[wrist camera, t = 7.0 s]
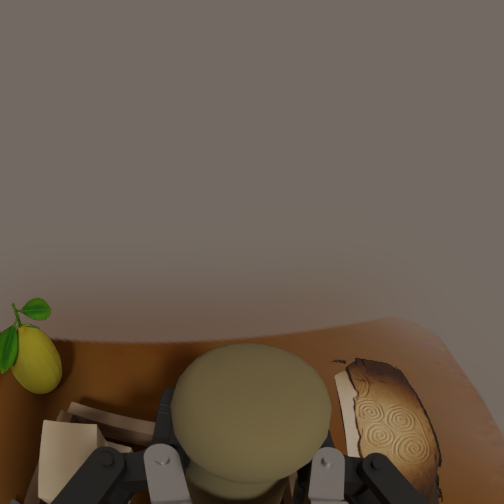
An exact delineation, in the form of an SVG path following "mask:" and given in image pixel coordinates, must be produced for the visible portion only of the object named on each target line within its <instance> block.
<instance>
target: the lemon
mask: <svg viewBox="0 0 504 504" xmlns="http://www.w3.org/2000/svg"><path fill="white" fill-rule="evenodd" d="M12 306H13V309H14V312H15V315H16V321H15V323H14V325H12V326H11V327H9V328H8V329H6V330H4V331H3V332H2V333H1V335H0V371H1V374H3V373H4V372H6V371H7V370H8V369H9V368H11V371H12V373H13V375H14V376H15V378H16V379H17V380H18V382H19V383H20V384H21V385H22V386H23V387H24V388H26V389H27V390H29V391H30V392H32V393H35V394H46V393H49V392H51V391H53V390H54V389H55V388H56V387H57V386H58V384H59V382H60V380H61V377H62V365H61V359H60V356H59V354H58V352H57V350H56V348H55V346H54V344H53V342H52V341H51V339H50V338H49V337H48V336H47V335H46V334H45V333H44V332H43V331H42V330H41V329H40V328H38V327H36V326H34V325H32V324H21V323H20V319H19V316H18V313H17V312H22V313H23V314H25V315H26V316H28V317H30V318H32V319H34V320H45V319H47V318H48V317H49V316H50V313H51V310H52V309H51V308H50V306H49V305H48V304H47V303H46V302H45V301H44V300H43V299H40V298H35V299H32V300H30V301H28V302H27V303H26V305H25V306H24V307H23V308H22V309H21V310H17V309H16V308H15V305H14V303H12ZM17 320H18V323H19V325H18V326H17V327H15V325H16V322H17Z"/></svg>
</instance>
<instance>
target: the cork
mask: <svg viewBox="0 0 504 504" xmlns="http://www.w3.org/2000/svg"><path fill="white" fill-rule="evenodd" d="M170 408H171V414H172V421H173V427H174V432H175V436H176V438H177V439H178V441H179V443H180V444H181V446H182V448H183V449H184V451H185V452H186V454H187V455H188V456H189V457H190V463H189V467H188V468H186V472H185V480H186V484H187V488H188V491H189V495H190V498H191V501H192V504H280V502H281V499H282V496H283V494H284V491H285V488H286V485H287V482H288V479H289V476H290V475H291V474H292V473H294V472H296V471H297V470H299V469H300V468H302V467H303V466H304V465H306V464H307V463H309V462H310V461H311V459H312V458H313V457H314V456H315V454H316V453H317V451H318V450H319V448H320V447H321V445H322V444H323V442H324V441H325V439H326V438H327V435H328V429H329V424H330V417H331V411H332V407H331V403H330V399H329V395H328V392H327V389H326V387H325V384H324V382H323V381H322V379H321V378H320V376H319V375H318V374H317V372H316V371H315V369H313V368H312V367H311V366H310V365H309V364H307V363H306V362H305V361H304V360H302V359H301V358H299V357H297V356H295V355H293V354H291V353H289V352H287V351H285V350H283V349H279V348H276V347H272V346H269V345H264V344H254V343H239V344H228V345H224V346H221V347H218V348H214V349H211V350H209V351H208V352H206V353H205V354H203V355H201V356H200V357H198V358H196V359H195V360H194V361H193V362H192V363H191V364H190V365H189V366H188V367H187V369H186V370H185V371H184V372H183V373H182V375H181V376H180V377H179V378H178V381H177V384H176V387H175V391H174V394H173V398H172V401H171V405H170Z"/></svg>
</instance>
